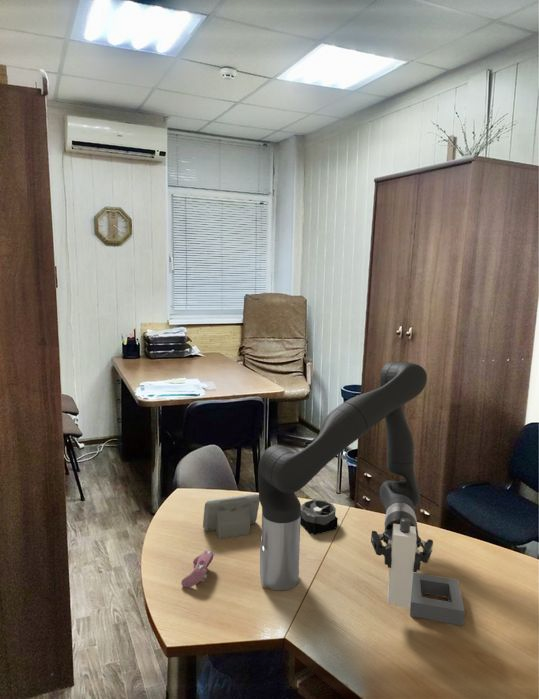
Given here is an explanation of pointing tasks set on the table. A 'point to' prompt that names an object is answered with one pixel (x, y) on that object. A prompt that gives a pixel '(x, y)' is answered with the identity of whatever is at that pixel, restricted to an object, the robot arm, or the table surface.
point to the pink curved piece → (198, 569)
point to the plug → (402, 563)
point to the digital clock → (231, 515)
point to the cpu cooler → (318, 517)
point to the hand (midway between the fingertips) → (402, 565)
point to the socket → (435, 608)
